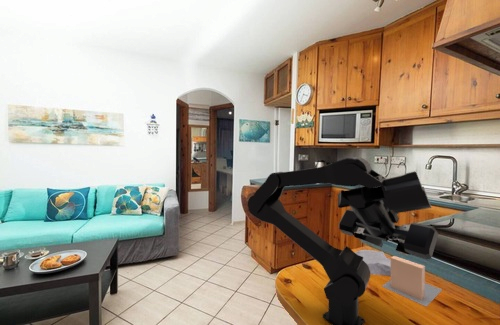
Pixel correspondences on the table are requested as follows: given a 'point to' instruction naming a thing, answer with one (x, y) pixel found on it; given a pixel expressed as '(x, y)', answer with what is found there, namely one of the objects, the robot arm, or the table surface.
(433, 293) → the mat
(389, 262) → the stone block
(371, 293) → the table surface
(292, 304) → the table surface
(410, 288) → the tile
